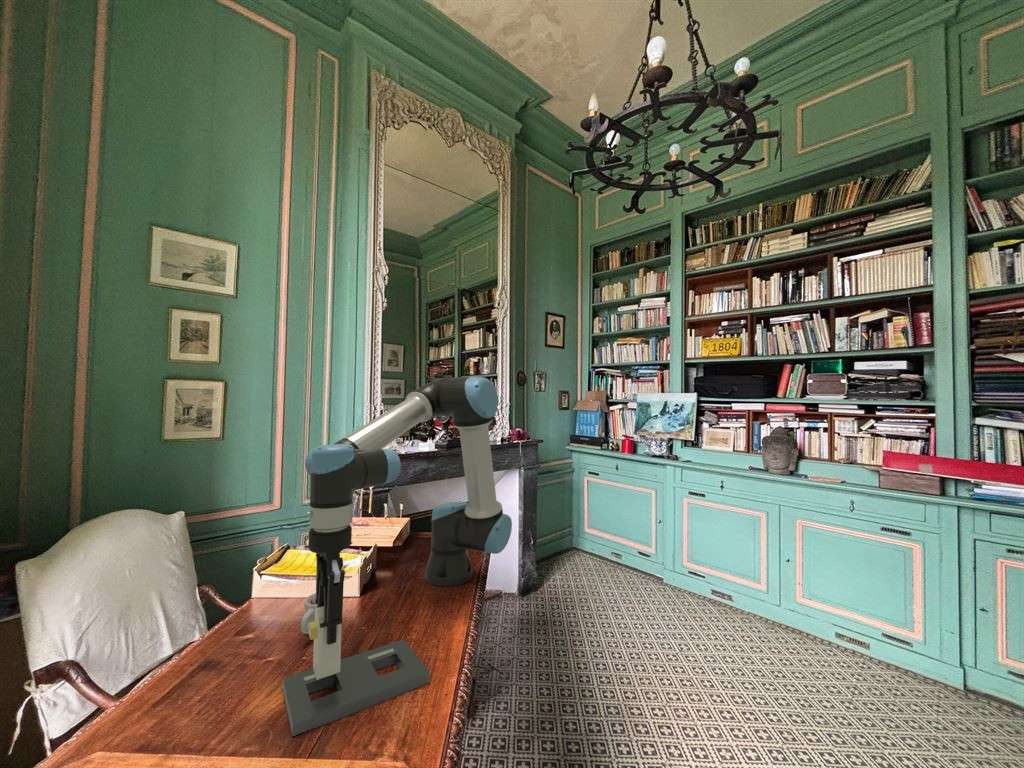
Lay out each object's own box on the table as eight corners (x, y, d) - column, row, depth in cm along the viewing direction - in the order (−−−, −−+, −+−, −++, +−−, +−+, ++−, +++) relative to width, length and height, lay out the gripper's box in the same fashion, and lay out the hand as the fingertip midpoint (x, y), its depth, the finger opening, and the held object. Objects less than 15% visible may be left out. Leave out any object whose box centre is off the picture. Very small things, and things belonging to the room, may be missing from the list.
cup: (317, 650, 91) (318, 613, 92) (286, 645, 93) (287, 608, 93) (346, 625, 102) (347, 592, 102) (317, 621, 103) (319, 588, 104)
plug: (335, 660, 79) (337, 602, 80) (340, 671, 76) (342, 611, 77) (306, 670, 77) (308, 610, 77) (310, 682, 73) (312, 619, 74)
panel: (403, 648, 92) (404, 638, 92) (429, 683, 81) (429, 672, 81) (282, 688, 78) (283, 677, 78) (292, 737, 67) (292, 724, 67)
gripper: (302, 518, 83) (298, 637, 82) (317, 542, 69) (313, 686, 68) (341, 513, 87) (337, 626, 86) (363, 535, 73) (359, 669, 72)
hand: (327, 652), depth 77 cm, fingers closed on plug, 4 cm apart
